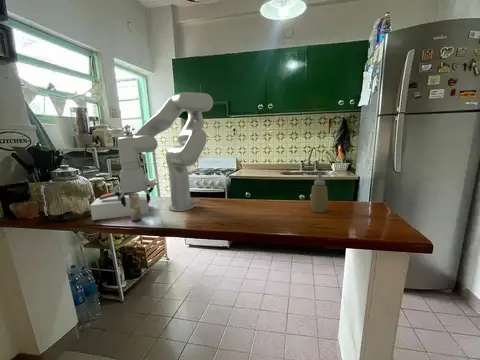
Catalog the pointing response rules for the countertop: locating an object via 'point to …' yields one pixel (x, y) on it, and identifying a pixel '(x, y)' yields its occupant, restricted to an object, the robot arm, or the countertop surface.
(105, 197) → the rocker
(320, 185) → the squeeze bottle
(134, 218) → the dowel
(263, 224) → the countertop surface
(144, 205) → the switch base
